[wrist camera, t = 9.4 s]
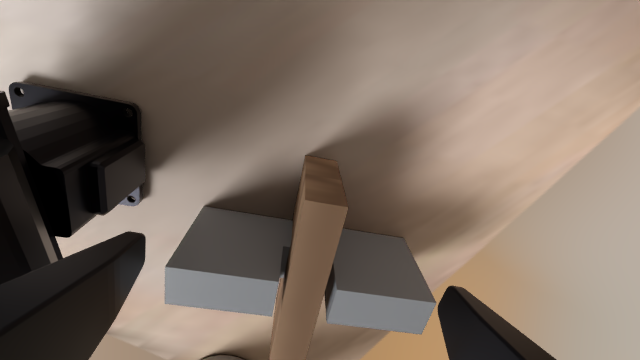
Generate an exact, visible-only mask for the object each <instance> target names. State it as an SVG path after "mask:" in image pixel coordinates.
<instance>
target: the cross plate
mask: <svg viewBox="0 0 640 360" xmlns="http://www.w3.org/2000/svg"><path fill="white" fill-rule="evenodd" d="M348 208H349V207H348V203H347V199H346V195H345V192H344V188H343V184H342V180H341V176H340V172H339V168H338V164H337V161H334V160H328V159H323V158H318V157H312V156H307V155H305V160H304V165H303V170H302V175H301V179H300V184H299V189H298V194H297V199H296V204H295V209H294V214H293V226H292V239H291V244H290V249H289V254H288V259H287V264H286V268H285V273H284V278H280V283H279V287H278V292H277V297H276V305H275V313H274V321H273V330H272V338H271V346H270V355H269V360H306V356H307V352H308V349H309V345H310V342H311V338H312V335H313V331H314V328H315V324H316V321H317V317H318V314H319V310H320V307H321V303H322V300H323V296H324V292H325V289H326V285H327V282H328V278H329V275H330V271H331V268H332V264H333V261H334V257H335V254H336V250H337V247H338V243H339V240H340V236H341V232H342V229H343V225H344V222H345V218H346V215H347V211H348Z"/></svg>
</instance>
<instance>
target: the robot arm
mask: <svg viewBox="0 0 640 360" xmlns="http://www.w3.org/2000/svg"><path fill="white" fill-rule="evenodd" d="M20 88H21V89H22V90H23V91H24V95H23V94H22V93H21V91H20ZM9 93H10V99H11V104H12V109H13V110H9V111H8V109H7V107H9V106H10V105H9V102H8V99H7V97H6V94H5V92H4V91H0V360H88V359H89V358H90V357H91V355H92V354H93V352H94V351H95V349H96V348H97V346H98V345H99V343H100V342H101V340H102V338H103V337H104V335H105V334H106V333H107V331H108V330H109V328H110V326H111V325H112V323H113V322H114V320H115V319H116V317H117V315H118V313H119V311H120V309H121V308H122V306H123V304H124V302H125V300H126V298H127V296H128V294H129V292H130V290H131V288H132V286H133V284H134V283H135V281H136V279H137V277H138V275H139V273H140V271H141V269H142V267H143V265H144V262H145V241H146V239H145V235H144V234H142V233H136V232H125V233H123V234H120V235H118V236H116V237H113V238H111V239H108V240H106V241H104V242H101V243H99V244H96V245H94V246H92V247H89V248H87V249H84V250H82V251H80V252H77V253H75V254H72V255H70V256H68V257H65V258H63V257H62V254H61V252H60V249H59V246H58V243H57V241H56V238H55V236H58V237H65V238H67V237H70V236H72V235H73V234H74V233H75V232H76V231H78V230H79V229H80V228H81V227H83V226H84V225H85V224H86V223H88V222H89V221H90V220H91V219H92V218H94V217H95V216H96V215H105V214H107V213H108V212H109V211H111V210H112V209H113V208H114V207H115V206H117V205H118V204H121V205H127V206H136V205H138V204H139V203H140V202H141V201H142V199H143V187H142V184H143V183H144V182H145V180H146V179H145V144H144V143H143V141H142V140H141V112H140V109H139V107H138V106H137V105H136V104H134V103H131V102H126V101H121V100H116V99H111V98H105V97H100V96H95V95H90V94H85V93H80V92H74V91H69V90H64V89H59V88H54V87H49V86H43V85H38V84H33V83H28V82H14V83H12V84H10V86H9ZM127 108H129V109H130V110H131V111H132V113H133V114H132V116H131V115H129V114H128V113H127ZM131 196H133V197H134V198H135V200H134V199H132V198H131ZM438 315H439V319H440V324H441V328H442V332H443V336H444V340H445V344H446V348H447V352H448V356H449V360H556V359H555V358H554V357H552V356H551V355H549V354H548V353H547V352H546V351H545V350H543V349H542V348H541V347H539V346H538V345H537V344H536V343H534V342H533V341H532V340H530V339H529V338H528V337H526V336H525V335H524V334H522V333H521V332H520V331H519V330H517V329H516V328H515V327H513V326H512V325H511V324H510V323H508V322H507V321H506V320H504V319H503V318H502V317H500V316H499V315H498V314H496V313H495V312H494V311H493V310H491V309H490V308H489V307H487V306H486V305H485V304H484V303H482V302H481V301H480V300H478V299H477V298H476V297H475V296H473V295H472V294H471V293H469V292H468V291H467V290H466V289H464V288H462V287H456V286H449V287H448V288H447V289H446V291H445V293H444V295H443V297H442V299H441V301H440V303H439V305H438Z"/></svg>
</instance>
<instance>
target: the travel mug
mask: <svg viewBox="0 0 640 360" xmlns="http://www.w3.org/2000/svg"><path fill="white" fill-rule="evenodd" d="M203 360H244V359H241V358H239V357H235V356H229V355H217V356H211V357H208V358H205V359H203Z"/></svg>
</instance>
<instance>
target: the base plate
mask: <svg viewBox="0 0 640 360" xmlns="http://www.w3.org/2000/svg"><path fill="white" fill-rule="evenodd" d="M292 226H293V220H286V219H280V218H274V217H268V216H261V215H255V214H249V213H242V212H236V211H230V210H224V209H217V208H211V207H205V206H204V207H203V208H202V210H201V211H200V213H199V214H198V216H197V218H196V219H195V221H194V222H193V224H192V225H191V227H190V229H189V230H188V232H187V233H186V235H185V236H184V238H183V240H182V241H181V243H180V244H179V246H178V247H177V249H176V251H175V252H174V254H173V255H172V257H171V258H170V260H169V262H168V263H167V265H166V266H165V304H171V305H180V306H188V307H196V308H205V309H213V310H221V311H230V312H238V313H246V314H255V315H263V316H271V317H272V314H273V309H274V304H275V299H276V294H277V289H278V284H279V278H284V273H285V268H286V264H287V259H288V254H289V249H290V244H291V239H292ZM435 305H436V301H435V299H434V297H433V295H432V293H431V291H430V289H429V287H428V285H427V283H426V281H425V279H424V277H423V275H422V273H421V271H420V269H419V267H418V265H417V263H416V261H415V259H414V257H413V255H412V253H411V251H410V249H409V247H408V245H407V243H406V242H405V240H404V238H400V237H393V236H387V235H381V234H374V233H368V232H362V231H356V230H349V229H342V232H341V236H340V240H339V243H338V247H337V250H336V254H335V257H334V261H333V264H332V268H331V271H330V275H329V278H328V282H327V285H326V289H325V306H326V320H327V323H330V324H338V325H347V326H355V327H363V328H372V329H380V330H388V331H397V332H405V333H413V334H422V332H423V330H424V328H425V326H426V324H427V322H428V320H429V318H430V316H431V313H432V311H433V309H434V307H435Z"/></svg>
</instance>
